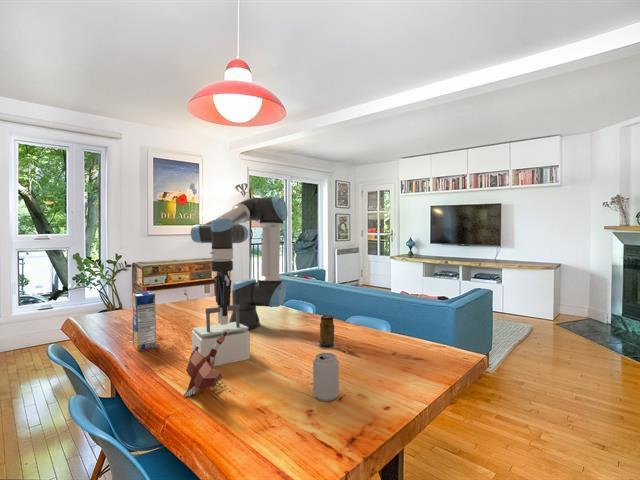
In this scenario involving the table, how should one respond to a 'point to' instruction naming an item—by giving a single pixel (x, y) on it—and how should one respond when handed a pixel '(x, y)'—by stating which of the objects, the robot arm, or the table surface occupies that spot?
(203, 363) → the decorative bird
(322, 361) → the can
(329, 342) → the condiment
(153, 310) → the beverage box
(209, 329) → the lid flap
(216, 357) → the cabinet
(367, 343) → the table surface
